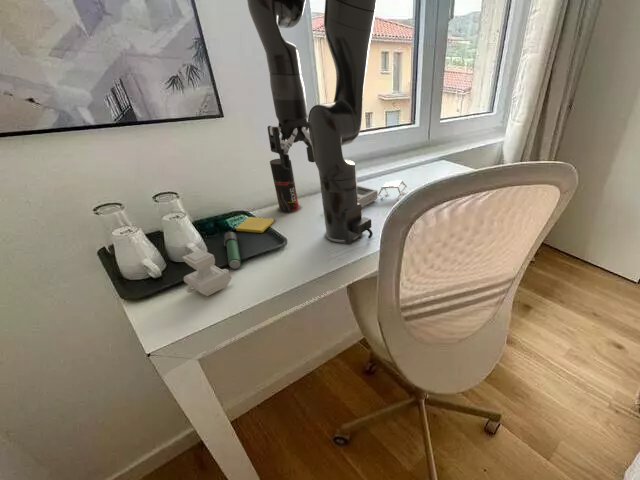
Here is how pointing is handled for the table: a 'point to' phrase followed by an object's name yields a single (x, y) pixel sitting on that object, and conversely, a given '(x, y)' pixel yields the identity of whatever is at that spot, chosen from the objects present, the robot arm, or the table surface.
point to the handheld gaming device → (366, 195)
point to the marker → (232, 250)
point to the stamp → (205, 273)
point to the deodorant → (284, 186)
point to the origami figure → (392, 185)
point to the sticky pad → (255, 224)
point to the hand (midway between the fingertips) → (300, 165)
